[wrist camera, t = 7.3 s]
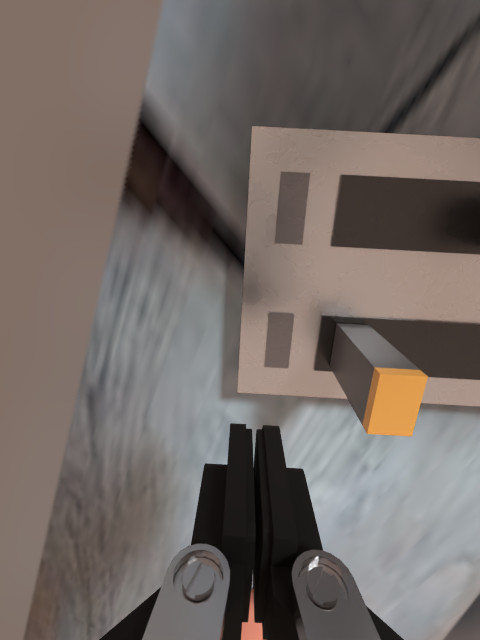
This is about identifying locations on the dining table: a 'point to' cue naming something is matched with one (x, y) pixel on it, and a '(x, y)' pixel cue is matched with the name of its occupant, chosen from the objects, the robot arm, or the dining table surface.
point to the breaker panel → (361, 257)
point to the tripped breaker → (377, 380)
